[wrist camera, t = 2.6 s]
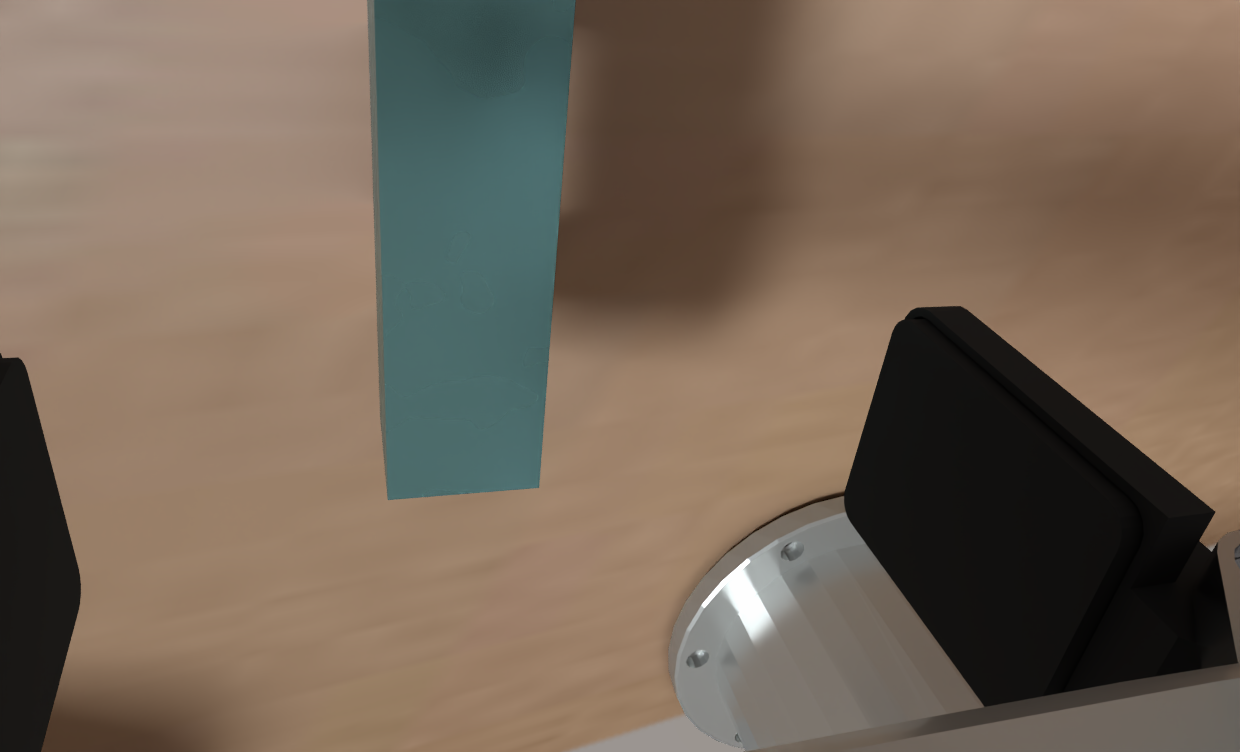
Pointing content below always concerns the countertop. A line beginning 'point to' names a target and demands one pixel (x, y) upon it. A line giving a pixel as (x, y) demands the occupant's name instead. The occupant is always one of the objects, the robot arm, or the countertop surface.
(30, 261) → the countertop surface
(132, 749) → the countertop surface
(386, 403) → the teal and white bridge
